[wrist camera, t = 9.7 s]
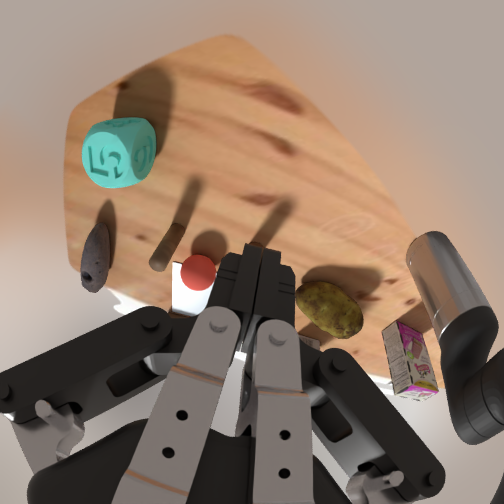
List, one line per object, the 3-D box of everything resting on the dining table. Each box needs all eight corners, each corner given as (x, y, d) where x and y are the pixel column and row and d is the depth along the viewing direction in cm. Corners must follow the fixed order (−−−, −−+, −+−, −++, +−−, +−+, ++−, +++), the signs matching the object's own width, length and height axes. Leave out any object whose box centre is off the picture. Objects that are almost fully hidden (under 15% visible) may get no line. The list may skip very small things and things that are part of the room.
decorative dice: (111, 117, 34) (78, 130, 27) (157, 117, 34) (129, 130, 27) (113, 165, 38) (84, 186, 32) (156, 169, 38) (132, 191, 32)
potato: (326, 261, 45) (331, 296, 39) (365, 300, 49) (372, 333, 43) (289, 286, 49) (288, 320, 43) (331, 320, 53) (334, 352, 47)
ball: (220, 254, 44) (207, 288, 41) (221, 268, 49) (210, 299, 47) (185, 244, 44) (171, 277, 42) (190, 259, 50) (178, 289, 47)
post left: (185, 225, 44) (165, 259, 37) (184, 238, 45) (165, 273, 38) (170, 221, 44) (148, 255, 36) (169, 234, 45) (149, 269, 38)
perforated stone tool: (97, 211, 44) (76, 232, 38) (120, 222, 45) (101, 245, 39) (92, 265, 53) (76, 287, 47) (112, 276, 54) (97, 299, 48)
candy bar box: (423, 332, 54) (440, 392, 41) (408, 343, 57) (421, 402, 44) (396, 318, 52) (413, 385, 39) (380, 331, 54) (392, 397, 41)
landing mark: (249, 280, 49) (249, 280, 49) (235, 326, 58) (235, 327, 57) (173, 261, 49) (173, 262, 48) (172, 310, 57) (172, 311, 57)
